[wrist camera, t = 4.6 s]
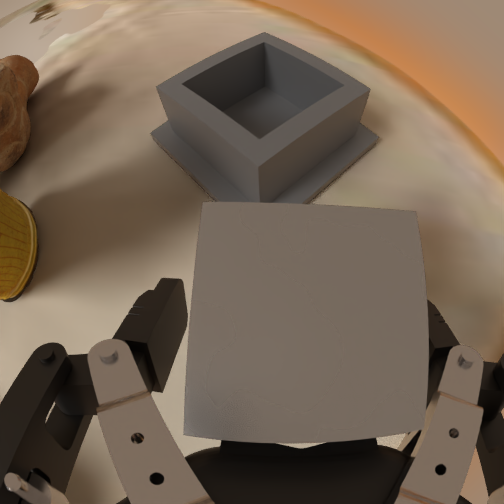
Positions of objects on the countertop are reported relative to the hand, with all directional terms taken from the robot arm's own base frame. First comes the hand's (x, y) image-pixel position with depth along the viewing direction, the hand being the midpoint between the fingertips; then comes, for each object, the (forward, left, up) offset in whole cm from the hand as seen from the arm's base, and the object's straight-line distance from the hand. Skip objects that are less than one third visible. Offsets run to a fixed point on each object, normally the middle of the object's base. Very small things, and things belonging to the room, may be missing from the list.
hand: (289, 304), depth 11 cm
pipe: (-8, +33, -6) cm, 34 cm away
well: (+8, +10, -6) cm, 14 cm away
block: (-1, -1, -6) cm, 6 cm away
